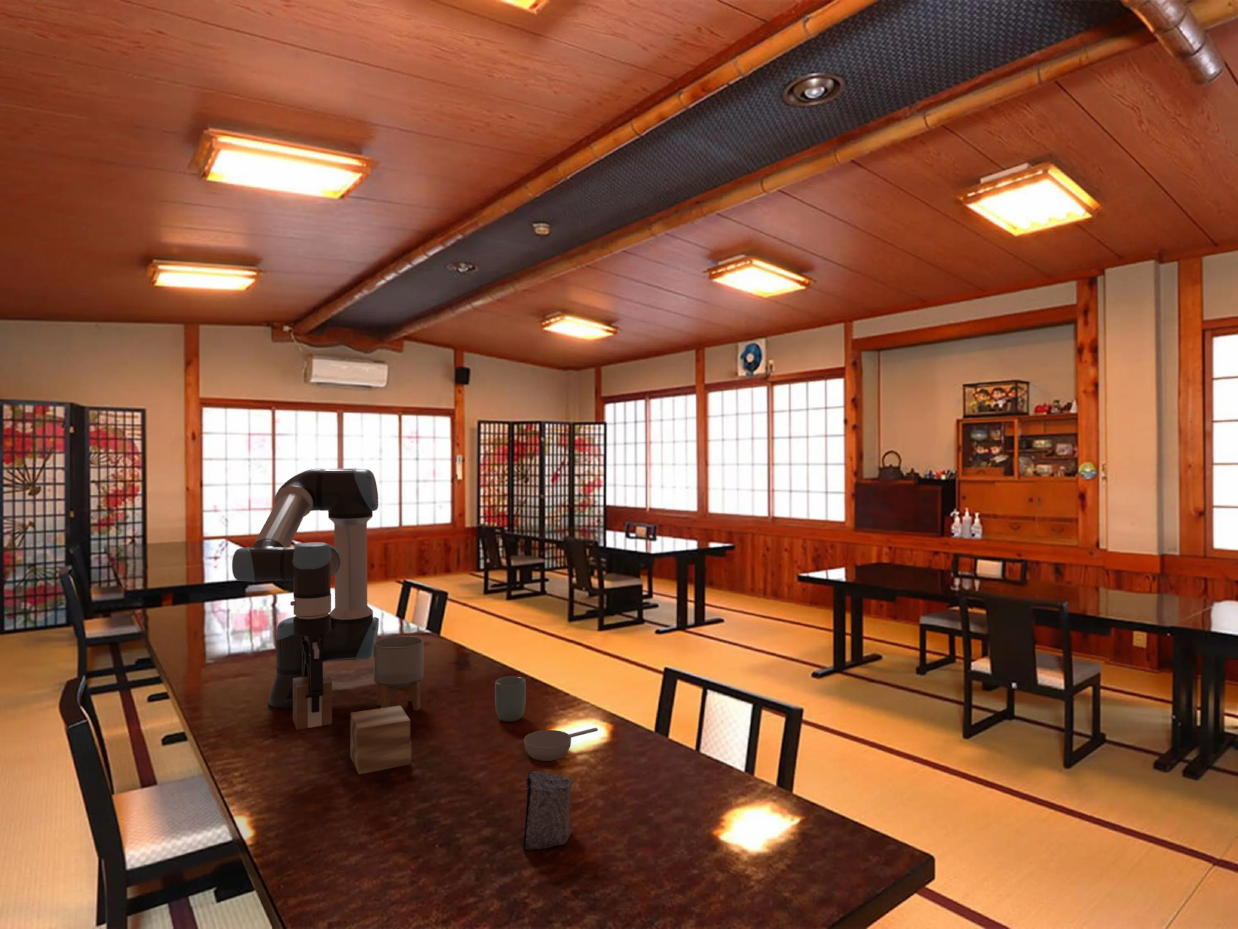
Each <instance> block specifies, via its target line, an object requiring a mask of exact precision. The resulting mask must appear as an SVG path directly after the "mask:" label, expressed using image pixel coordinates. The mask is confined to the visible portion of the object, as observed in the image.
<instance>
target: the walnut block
mask: <svg viewBox="0 0 1238 929" xmlns="http://www.w3.org/2000/svg"><path fill="white" fill-rule="evenodd" d="M323 691H324V693H323V695H322V726H327V725H332V724H333V682H332V680H331V678H330V676H329V674H328V673H327V672H326V673H323ZM308 694H309V687H308V676H305V677H298V678H293V708H292V719H293V720H292V721H293V723H294V725H295V726H294V727H295V729H296V731H299V730H303V729H308V698H305V695H308ZM311 728H312V727H310V728H309V729H311Z"/></svg>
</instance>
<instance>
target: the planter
mask: <svg viewBox="0 0 1238 929" xmlns="http://www.w3.org/2000/svg"><path fill="white" fill-rule="evenodd" d="M423 677H424V639H423V638H422V637H419V636H414V635H399V636H396V635H395V636H390V637H389V636H388V637H384V638H383V637H382V638H381V639H377V640H376V641H375V642H374V653H373V682H374V683H376V706H379V707H380V708H386V707H391V702H392V700H393V698H394V696H395V695H396V694H397V693H398V692H399V691H401V692H403V693H404V694H406V695H407V697H406V698H407V701H408V702H411V704H412V711H419V710H421V683H422V682H421V680H422V679H423Z"/></svg>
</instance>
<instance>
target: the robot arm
mask: <svg viewBox="0 0 1238 929" xmlns="http://www.w3.org/2000/svg"><path fill="white" fill-rule="evenodd" d="M377 486H378V485H377V481H376V477H375V475H374V473H373V471H372V470H369V469H366V468H365V469H364V468H356V467H354V468H353V467H352V468H311V469H307V470H305V471H301V472H300V473H297V474H296V475H294V476H292V477H291V478H289V479H288V480H287V481H285V482H284V483H283V484H282V485H281V486H280V487H279V489H278V491H277V492H276V494H275V495H274V499H273V500H274V501H273V503H274V506H273V507H272V510H271V511H270V513H269V515H268V517H267V519H266V521H265V522H264V525H263V526H262V528H261V530H260V531H259V533H258V535H257V537H256V538H255V541H254V543H253V544H252V546H251V547H249V546H245V547H241V548H237V549H236V550H234V553H233V556H232V560H231V561H232V562H231V570H232V575H233V577H234V579H235V580H236V581H239V582H253V583H255V582H271V581H272V582H274V581H275V582H276V581H277V582H278V581H279V582H280V581H292V583H293V584H292V586H293V600H292V601H290V603H289V605H290V606H292V607H293V615H294V616H292V617H288V618H285V619H283V620H281V621H280V622H279V623H278V625H277V627H276V636H275V641H276V643H275V644H276V645H275V646H276V647H275V652H276V655H275V658H276V664H275V667H276V669H275V670H276V672H275V673H276V674H275V677H274V680H273V684H272V687H271V690H270V693H269V695H268V704H269V706H270V707H273V708H277V709H293V678H298V677H305V676H308V687H309V694H308V695H305V698H308V728H309V729H311V728H315V727H322V726H323V725H322V695H323V693H324V691H323V674H324V669H323V668H324V664H323V663H325V662H327V663H328V662H344V661H345V662H346V661H354V662H356V661H362V660H369V659H370V658H372V656H374V642H375V641H377V640H378V633H379V626H380V623H379V622H380V618H378V617H376V616H374V610H373V609H372V608H371V607H369V606H368V522H369V521H370V520H371V518H373V513H374V512H376V511H378V509H379V492H378V487H377ZM313 511H314V512H315V511H317V512H318V511H322V512H323V511H325V512H328V513H327V514H328V516H327V517H328V519H329V520H330V521H331V522H332V523H333V525H334V534H333V535H334V536H333V537H334V538H333V539H334V540H333V541H334V542H333V543H334V545H330V544H329V543H326V542H320V541H318V542H317V541H316V542H303V543H297V544H296V545H295V546H291V544H292V542H293V540H294V539H295V536H296V534H297V533H298V530H299V528H300V525H301V524H302V522H303V519H304V517H306V516H307V515H309V514H310V513H311V512H313ZM332 577H334V608H333V609H332V593H331V592H332V591H331V590H332V589H331V587H332V586H331V584H332V582H331V581H332ZM310 727H311V728H310ZM308 728H307V729H308Z"/></svg>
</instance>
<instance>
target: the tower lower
mask: <svg viewBox="0 0 1238 929" xmlns="http://www.w3.org/2000/svg"><path fill="white" fill-rule="evenodd" d="M349 738H350V739H349V742H350V743H349V744H350V745H349V746H350V747H349V751H350V754H349V757H350V759H351V761H352V763H353V765H354V767H355V770H356V771H357V773H358V775H361V774H362V775H363V774H368V773H372V772H379V771H383V770H389V769H392V768H397V767H403V766H407V765H412V742H411V741H410V743H408V744H402V745H396V746H390V747H384V748H378V749H373V750H367V751H361V752H357V750H356V747H355V745H354V742H353V740H352V737H351V735H350V737H349Z"/></svg>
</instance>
